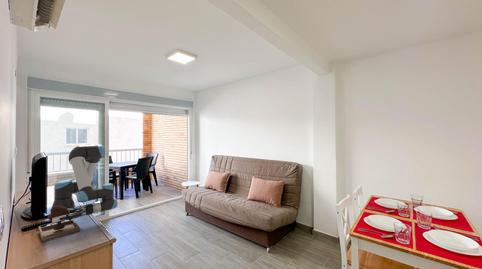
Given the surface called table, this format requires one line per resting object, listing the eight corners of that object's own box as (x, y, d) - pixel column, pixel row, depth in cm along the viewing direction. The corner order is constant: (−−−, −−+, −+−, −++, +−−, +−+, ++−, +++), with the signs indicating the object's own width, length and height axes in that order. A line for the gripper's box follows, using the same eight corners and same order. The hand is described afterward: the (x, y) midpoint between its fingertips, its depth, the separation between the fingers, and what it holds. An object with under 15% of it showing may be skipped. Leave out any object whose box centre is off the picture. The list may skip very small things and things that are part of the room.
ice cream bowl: (57, 232, 129) (57, 208, 129) (43, 231, 131) (42, 207, 131) (74, 225, 139) (74, 203, 139) (60, 224, 141) (60, 202, 141)
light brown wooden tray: (39, 232, 134) (38, 227, 134) (73, 223, 148) (73, 219, 148) (42, 242, 123) (42, 237, 123) (79, 231, 136) (79, 226, 136)
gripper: (97, 218, 141) (53, 229, 124) (88, 209, 156) (48, 218, 140) (97, 207, 141) (53, 217, 124) (88, 199, 156) (48, 207, 140)
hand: (50, 217), depth 132 cm, fingers closed on ice cream bowl, 11 cm apart
